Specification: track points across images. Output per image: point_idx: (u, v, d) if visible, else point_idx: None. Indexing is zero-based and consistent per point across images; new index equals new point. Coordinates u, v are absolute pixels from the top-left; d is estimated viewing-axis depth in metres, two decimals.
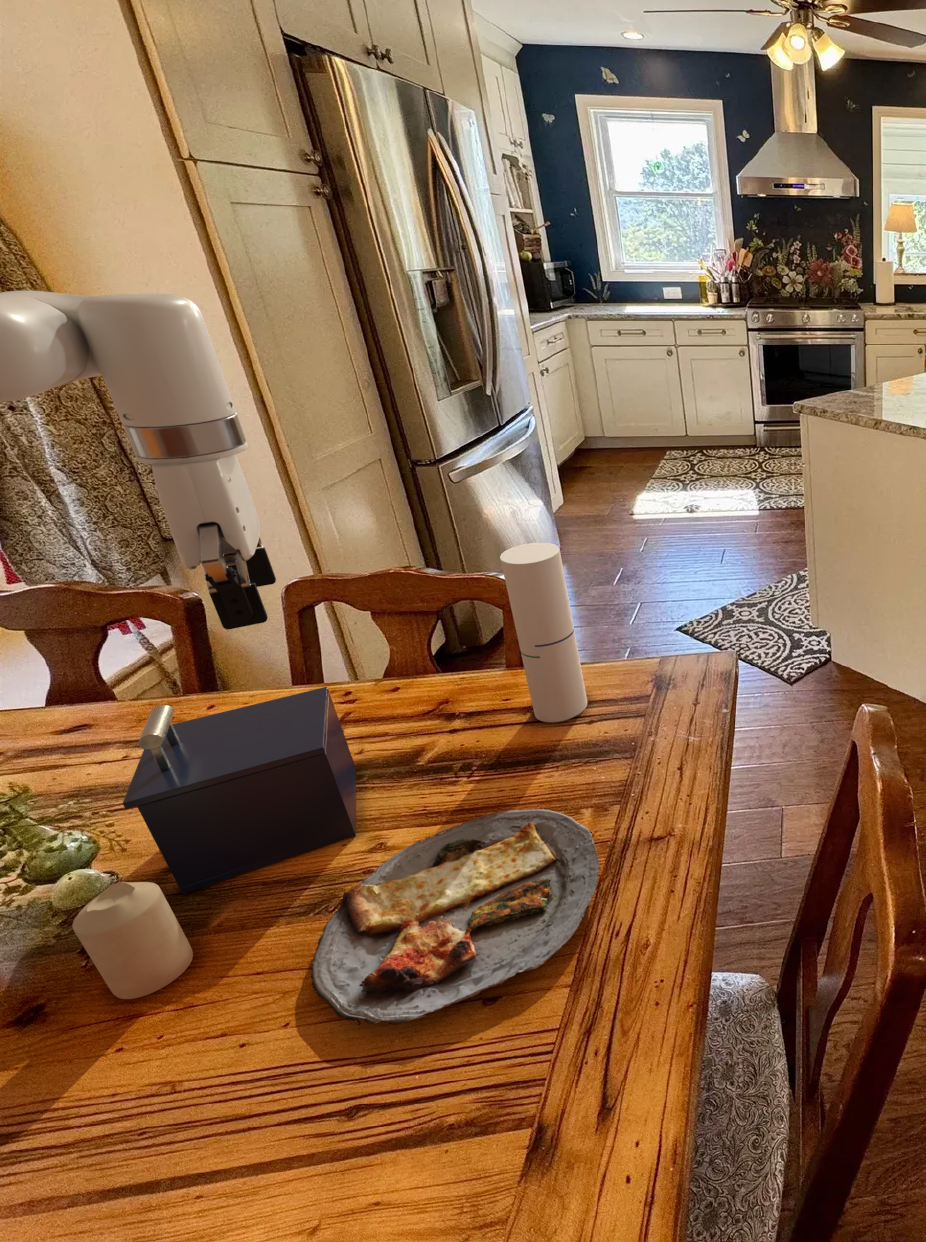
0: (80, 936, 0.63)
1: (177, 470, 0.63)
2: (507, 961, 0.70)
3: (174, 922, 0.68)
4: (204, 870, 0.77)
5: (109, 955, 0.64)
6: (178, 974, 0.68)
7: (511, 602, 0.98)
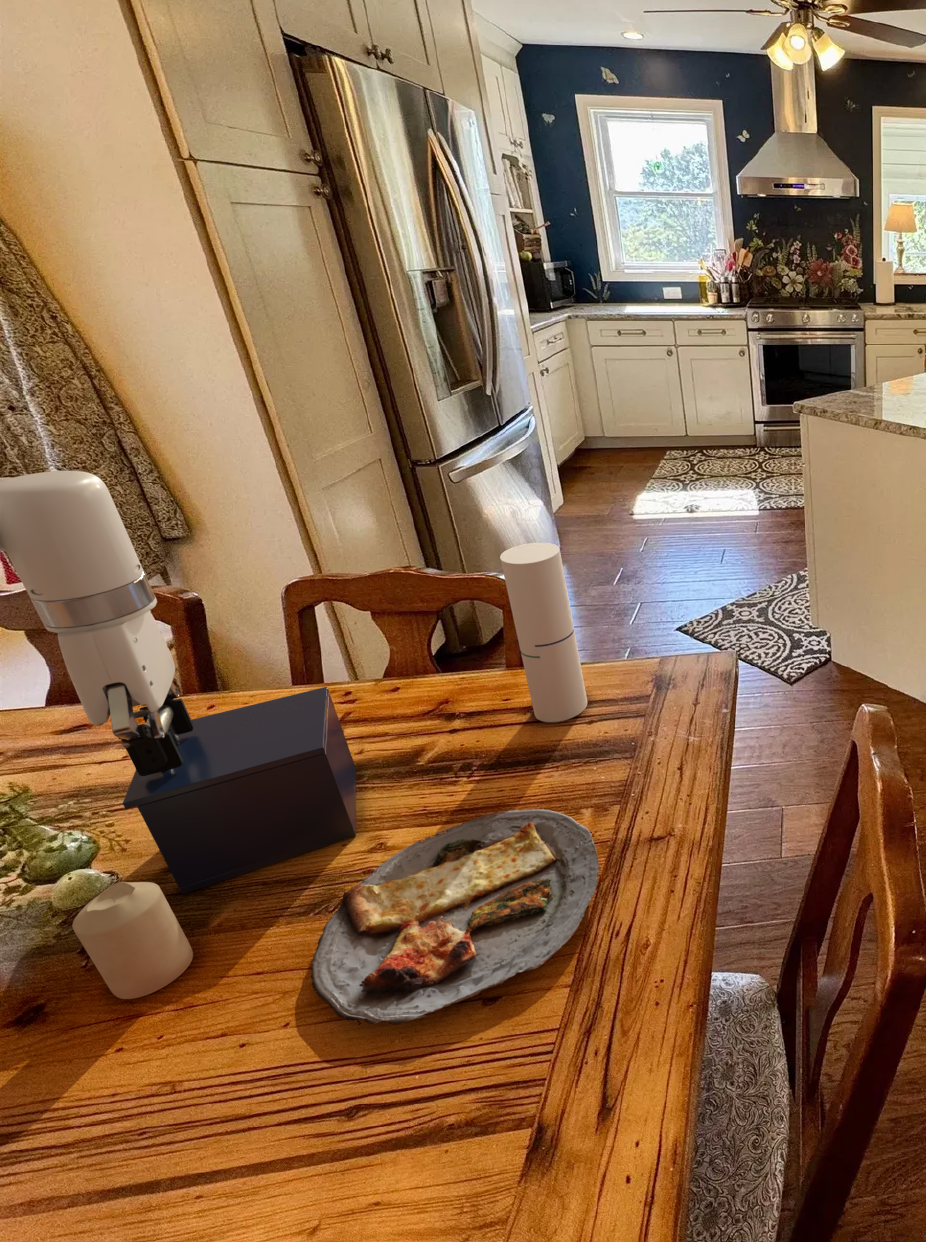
0: (80, 936, 0.63)
1: (82, 638, 0.67)
2: (507, 961, 0.70)
3: (174, 922, 0.68)
4: (204, 870, 0.77)
5: (109, 955, 0.64)
6: (178, 974, 0.68)
7: (511, 602, 0.98)
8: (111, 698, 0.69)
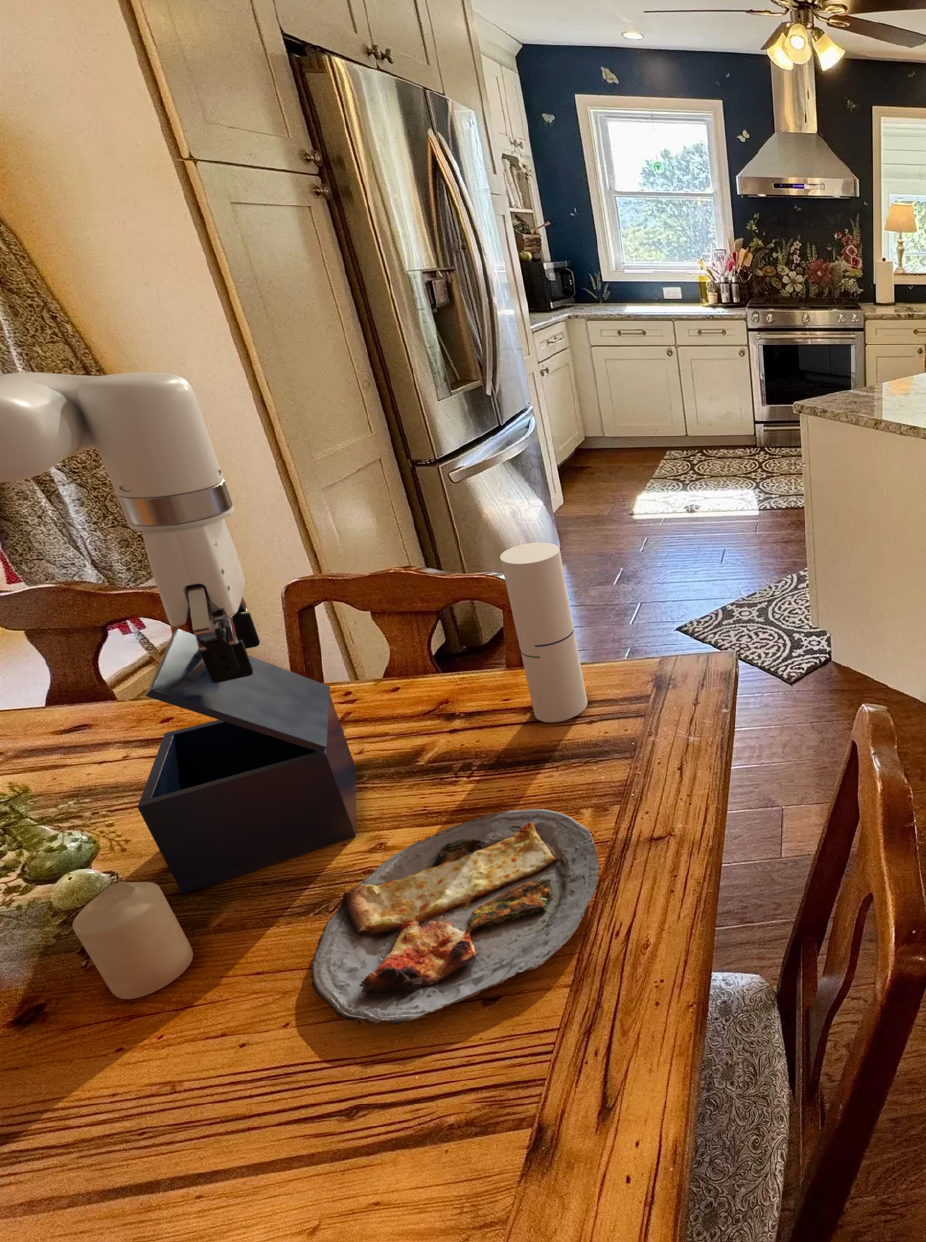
0: (80, 936, 0.63)
1: (166, 536, 0.68)
2: (507, 961, 0.70)
3: (174, 922, 0.68)
4: (204, 870, 0.77)
5: (109, 955, 0.64)
6: (178, 974, 0.68)
7: (511, 602, 0.98)
8: (191, 599, 0.70)
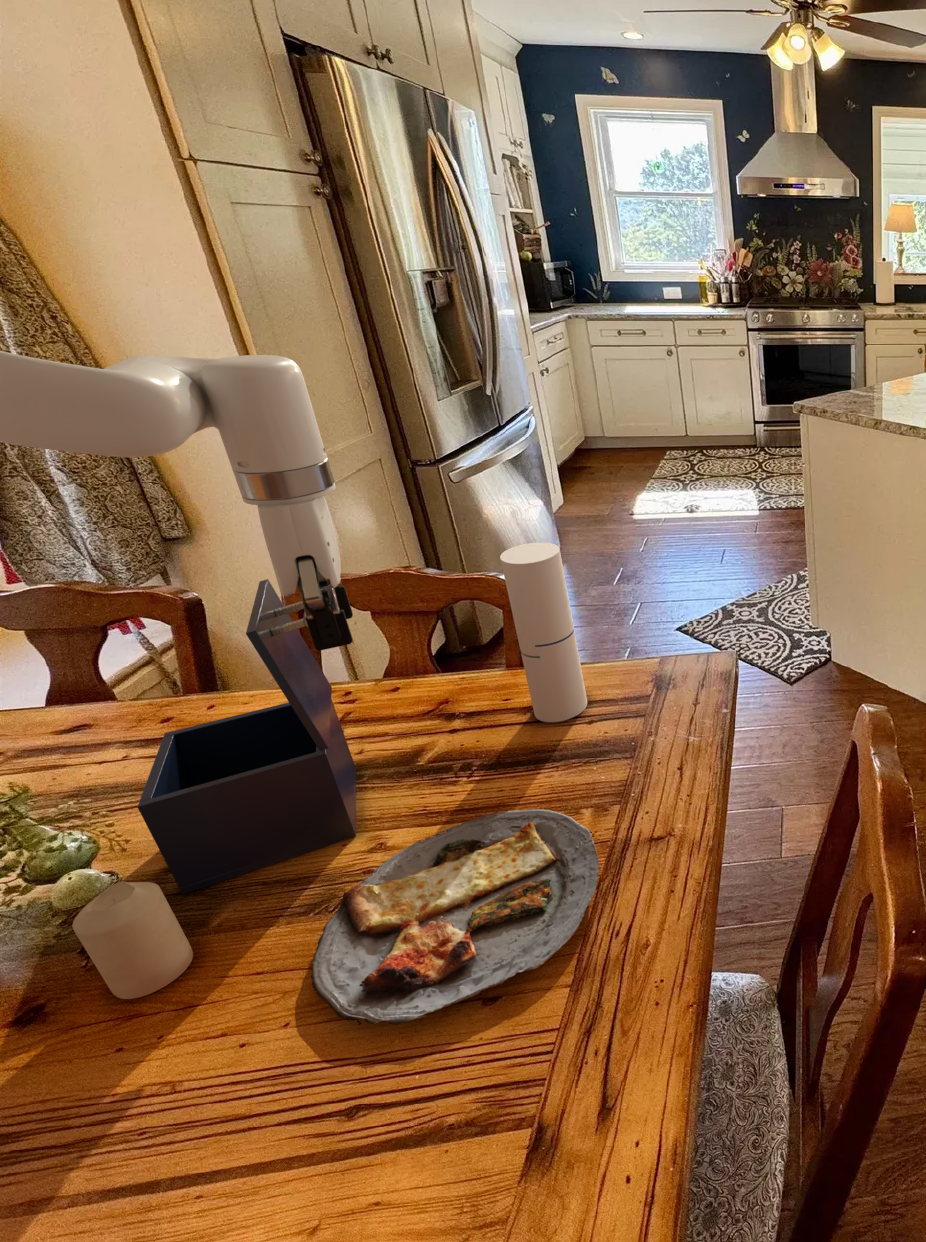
0: (80, 936, 0.63)
1: (280, 510, 0.72)
2: (507, 961, 0.70)
3: (174, 922, 0.68)
4: (204, 870, 0.77)
5: (109, 955, 0.64)
6: (178, 974, 0.68)
7: (511, 602, 0.98)
8: (302, 569, 0.74)
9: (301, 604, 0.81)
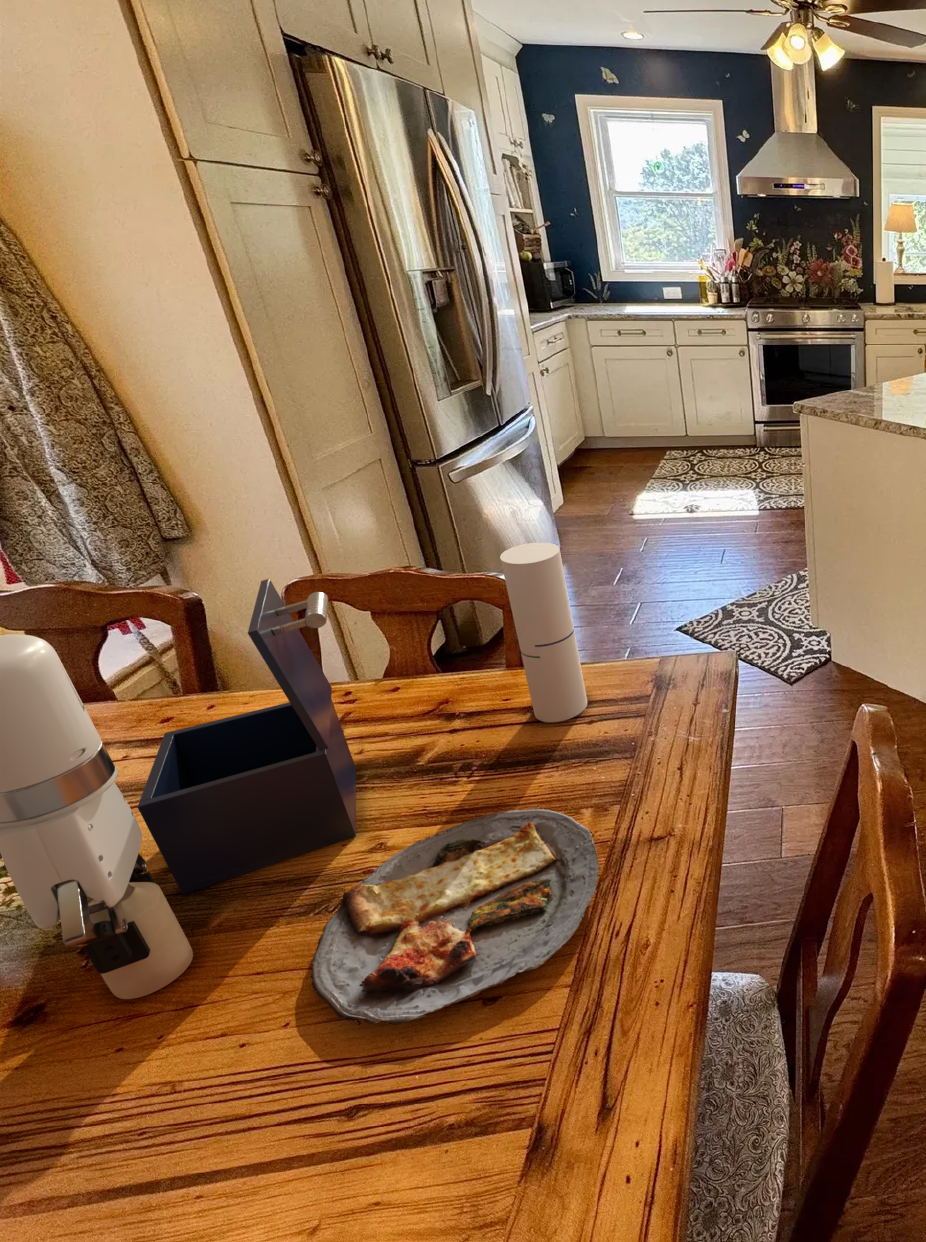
0: None
1: (24, 835, 0.57)
2: (507, 961, 0.70)
3: (174, 922, 0.68)
4: (204, 870, 0.77)
5: None
6: (178, 974, 0.68)
7: (511, 602, 0.98)
8: (62, 899, 0.59)
9: (302, 604, 0.81)
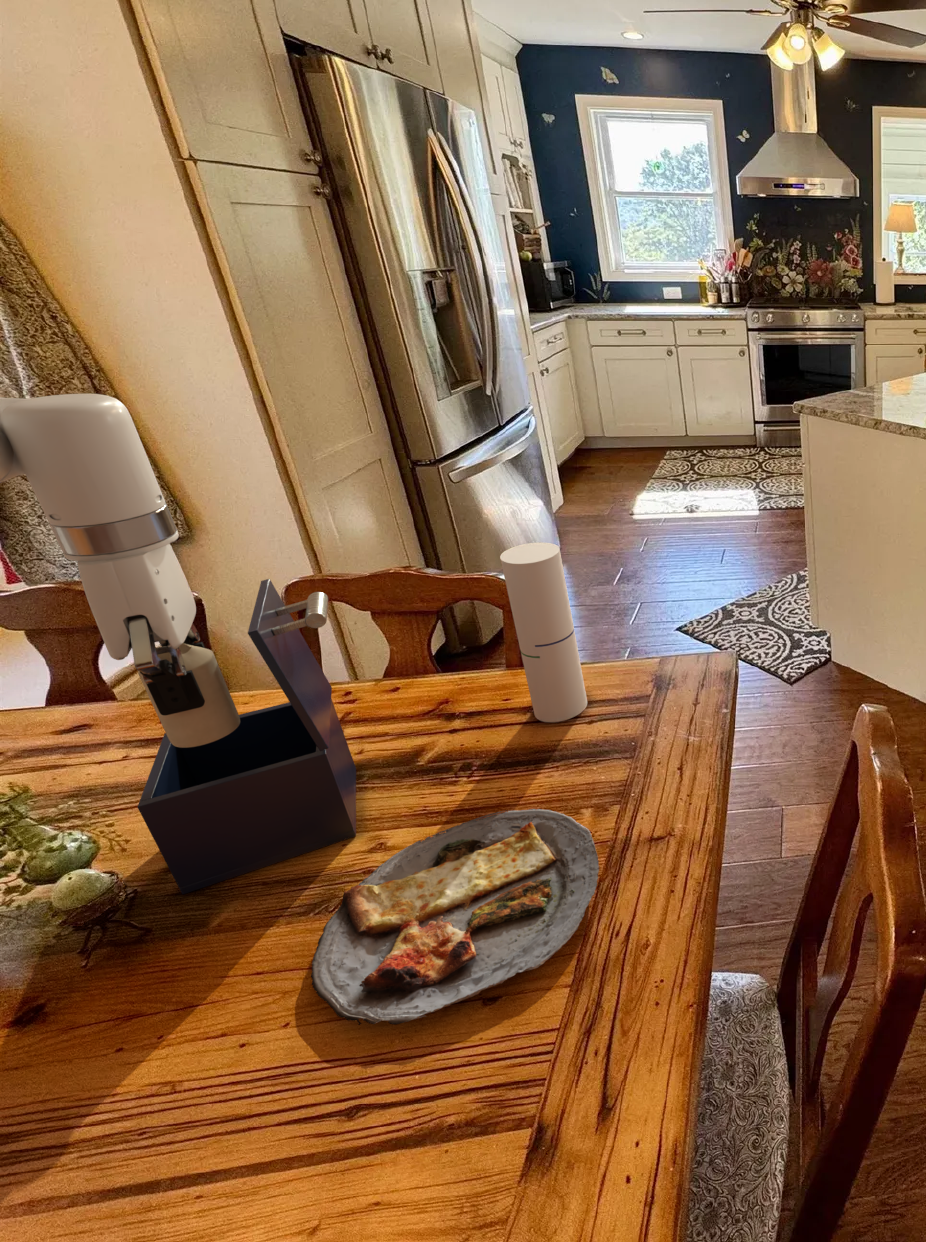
0: None
1: (102, 566, 0.65)
2: (507, 961, 0.70)
3: (225, 685, 0.76)
4: (204, 870, 0.77)
5: None
6: (228, 732, 0.76)
7: (511, 602, 0.98)
8: (132, 631, 0.67)
9: (302, 604, 0.81)
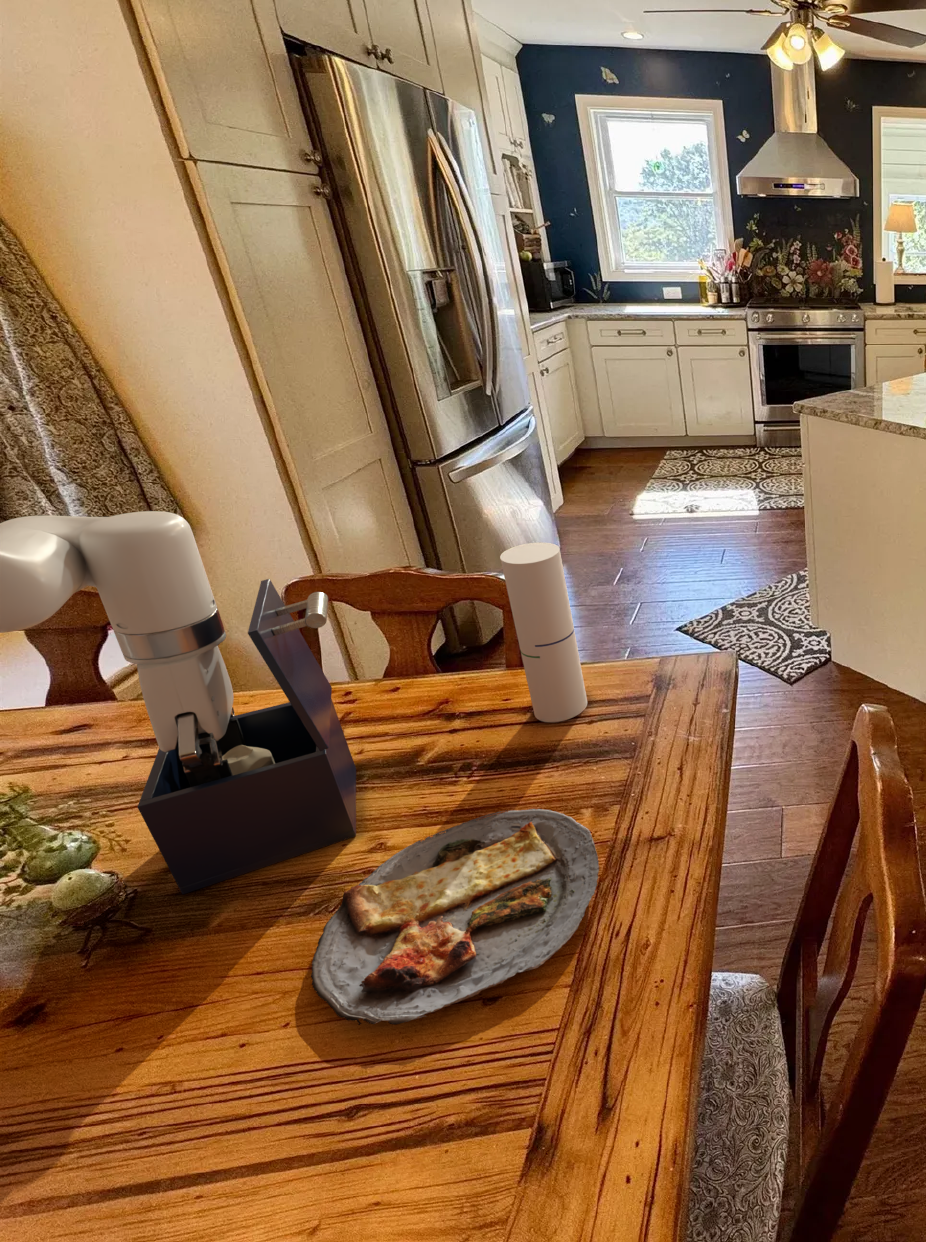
0: None
1: (160, 670, 0.71)
2: (507, 961, 0.70)
3: None
4: (204, 870, 0.77)
5: None
6: None
7: (511, 602, 0.98)
8: (180, 724, 0.73)
9: (302, 604, 0.81)
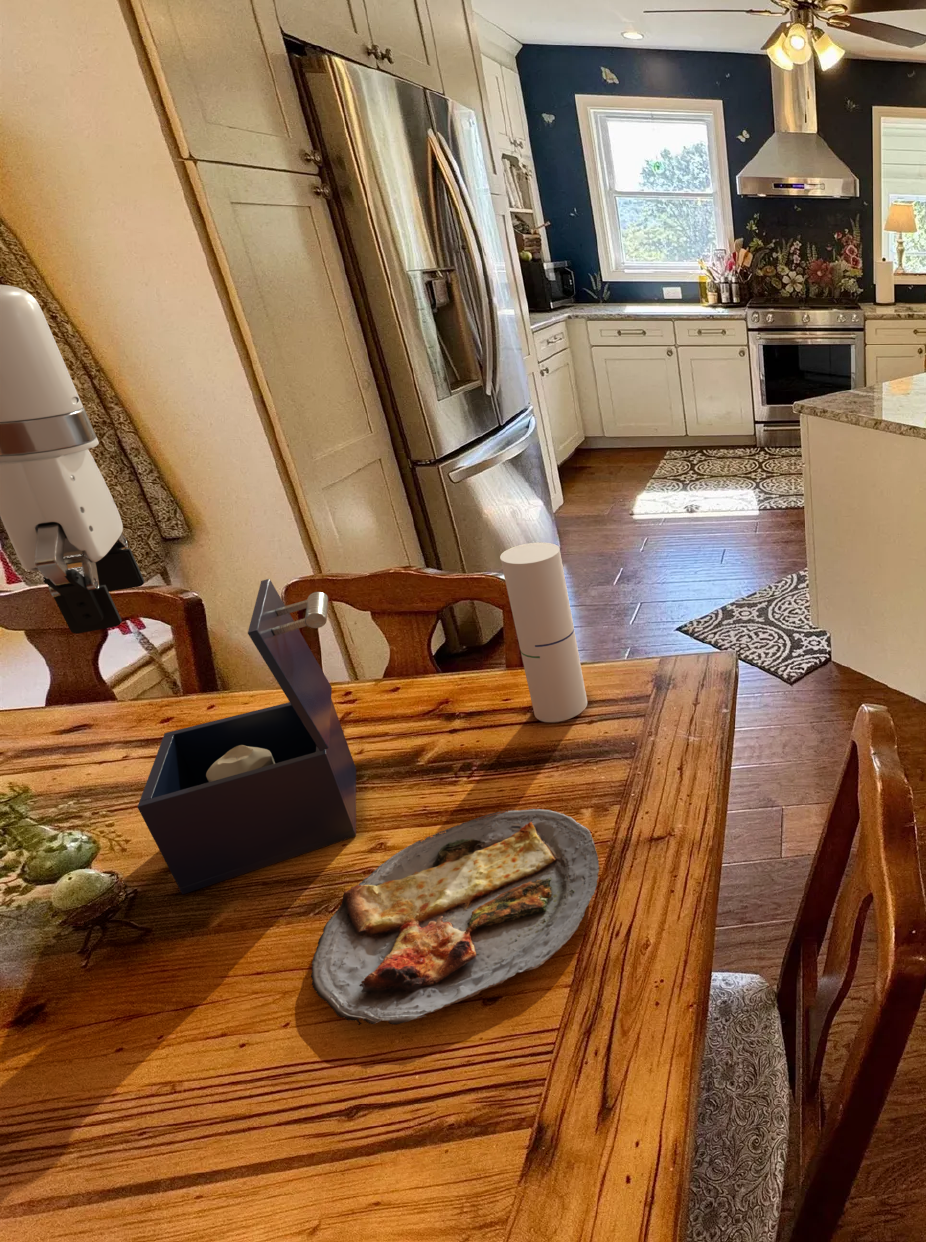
0: None
1: (10, 468, 0.61)
2: (507, 961, 0.70)
3: None
4: (204, 870, 0.77)
5: None
6: None
7: (511, 602, 0.98)
8: (40, 533, 0.62)
9: (302, 604, 0.81)
